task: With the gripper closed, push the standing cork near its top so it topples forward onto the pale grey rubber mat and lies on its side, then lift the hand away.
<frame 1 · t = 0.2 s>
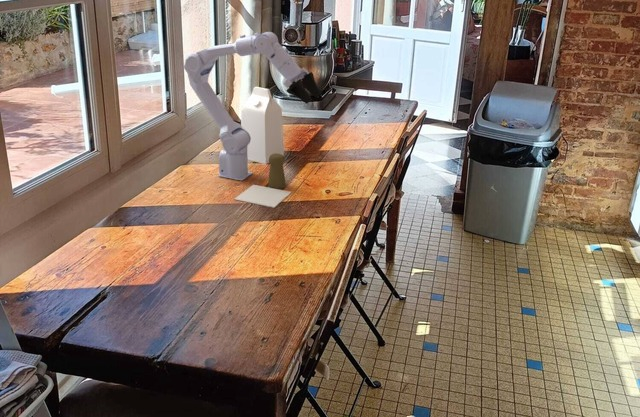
hand: (314, 98, 193), 31 cm above the table, tool tilted 45°, fingers open, 7 cm apart
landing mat: (263, 196, 199), on the table
milk: (262, 156, 232), on the table
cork: (276, 186, 207), on the table
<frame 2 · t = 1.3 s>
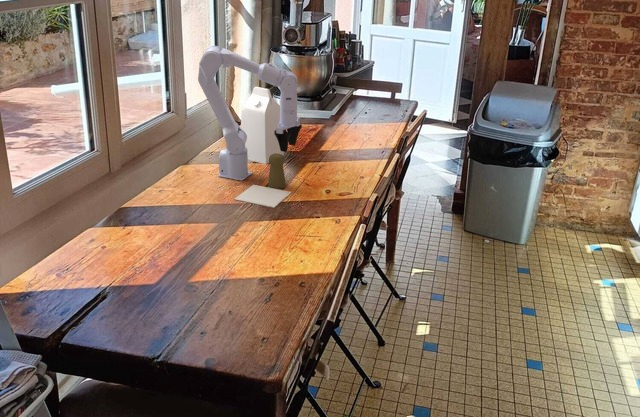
hand: (288, 148, 210), 10 cm above the table, tool pointing down, fingers open, 6 cm apart
nothing on the table moved.
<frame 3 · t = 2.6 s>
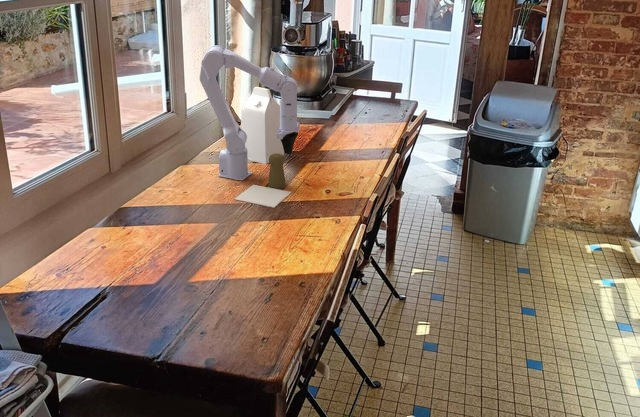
hand: (288, 153, 211), 9 cm above the table, tool pointing down, fingers closed
nothing on the table moved.
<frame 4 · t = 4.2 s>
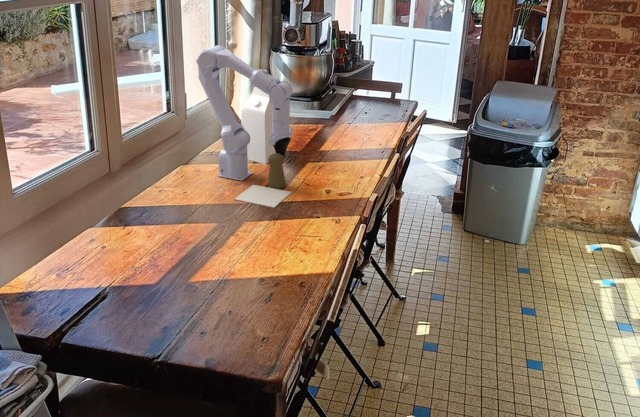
hand: (280, 158, 206), 8 cm above the table, tool pointing down, fingers closed
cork: (276, 185, 207), on the table, touching gripper
everything else where it was.
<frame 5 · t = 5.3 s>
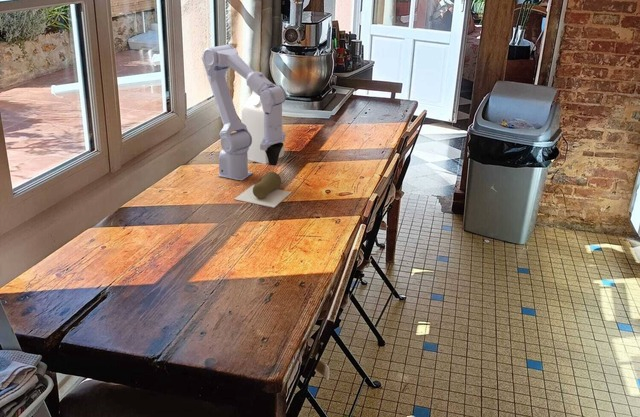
hand: (273, 164, 201), 8 cm above the table, tool pointing down, fingers closed
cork: (273, 180, 204), point 3 cm above the table, touching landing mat
everything else where it was.
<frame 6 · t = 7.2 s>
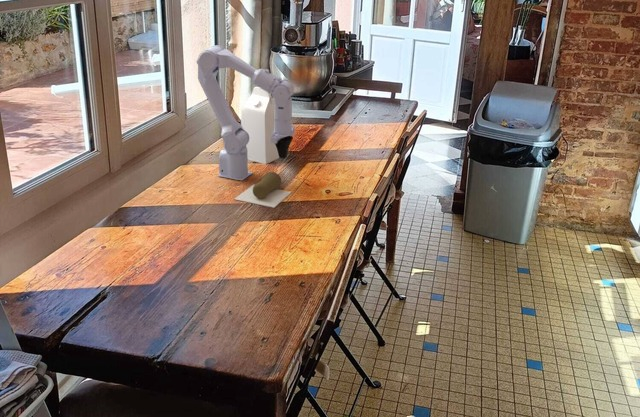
hand: (282, 157, 208), 8 cm above the table, tool pointing down, fingers closed
nothing on the table moved.
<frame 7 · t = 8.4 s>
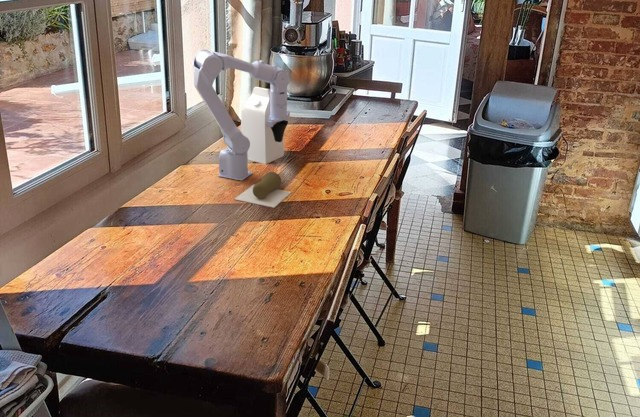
hand: (278, 141, 217), 10 cm above the table, tool pointing down, fingers closed
nothing on the table moved.
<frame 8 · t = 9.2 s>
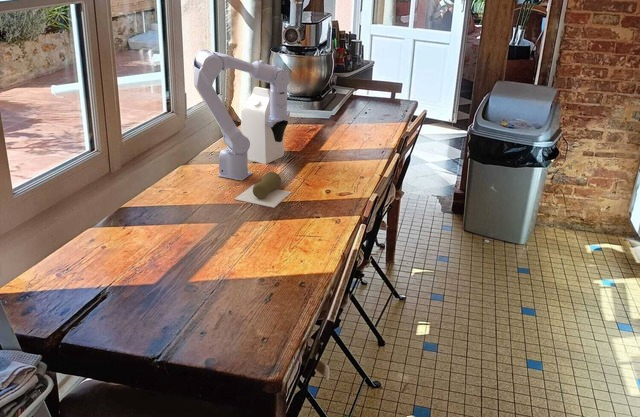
hand: (278, 141, 217), 10 cm above the table, tool pointing down, fingers closed
nothing on the table moved.
at the end: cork tilted 91°; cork inside the target area (2.2 cm from its centre), point 3.0 cm above the table; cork touching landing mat, table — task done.
